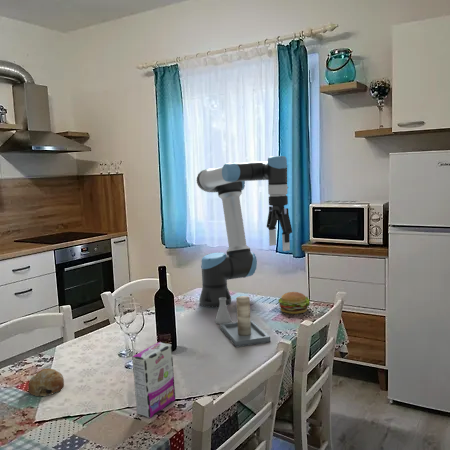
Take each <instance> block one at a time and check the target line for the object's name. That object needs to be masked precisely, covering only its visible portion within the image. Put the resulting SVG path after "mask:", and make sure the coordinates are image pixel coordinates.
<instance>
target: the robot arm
mask: <svg viewBox="0 0 450 450" xmlns="http://www.w3.org/2000/svg"><path fill="white" fill-rule="evenodd" d="M250 181H251V182H252V181H267V189H268V205H269V207H268V215H267V220H266V221H267V222H266V228H268V237H269V239H268V240H269V242H268V243H269V246H276V245H277V227H276V226H277V223H278V222H279V225H280V227H281V230H282V233H281V235H282V238H281V239H282V252H287V251H291V246H290V245H291V242H290V241H291V240H290V234H293V227H292V224H291V219H290V215H289V213H290V212H289V208H288V207H287V208H285V206H287V205H288V204H289V202H288V200H289V199H288V195H287V194H288V189H289V186H288V162H287V157H286V156H284V155H276V156H275V155H274V156H268V157H267V161H253V162H252V161H249V162H248V161H247V162H228V163H224V164H223V166H220V167H217V168H216V167H213V168H212V167H211V168H206V169H203V170H201V171H200V172H199V173H198V174H197V177H196V184H197V186H198V188H199V189H200V190H202V191H203V192H205V193H206V192H207V193H217V196H218V198H220V199H221V201H222V209H223V215H224V223H225V228H226V235H227V243H228V249H227V250H226V251H225V252H220V251H219V252H213V253H212V252H211V253H209V254H206V255H204V256H203V257H202V258H201V264H200V267H201V281H202V282H201V283H202V289H201V292H200V295H199V301H198V302H199V305H200V306H202V307H205V308H219V305H220V301H219V298H226V306H229V305H231V304H232V296H231V293H230V291H229V288H228V281H229V280H234V279H235V280H236V279H242V278H248V277H252V276H253V275H254V274H255V273H256V270H257V265H258V259H257V256H256V254H255V252H252V250H251V248H250V247H249V246H248V245H247V240H246V233H245V227H244V226H245V225H244V220H243V214H242V205H241V199H240V197H241V195H242V194H243V192H242V191H243V190H245V187H246V186H245V185H246V182H250Z"/></svg>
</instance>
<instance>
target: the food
mask: <svg viewBox="0 0 450 450" xmlns="http://www.w3.org/2000/svg"><path fill="white" fill-rule="evenodd" d="M277 301H278V305H279V307H280V311H281V312H282V313H284V314H289V315H298V314H304V313H305V312H307V311H308V307H309V306H310V298H309V297H308V296H306V295H305V294H303V293H301V292H298V291H289V292H285V293H284V294H282V295H281V297H280V298H278V300H277Z"/></svg>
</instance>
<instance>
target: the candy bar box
mask: <svg viewBox="0 0 450 450" xmlns="http://www.w3.org/2000/svg"><path fill="white" fill-rule="evenodd" d="M131 360H132V368H133V369H132V371H133V380H134V392H135V403H136V404H135V405H136V407H135V408H136V414H137V415H139V416H140V417H141V416H142V417H145V418H148V419H151V418H153V417H154V416H156V414H158V413H160V412H161V411H162V410H163V409H165V408H166V407H168V406H169V405H171V403H173V402H174V401H176V390H175V388H176V387H175V376H174V374H175V373H174V361H173V347H172V344H170V343H167V342H162V341H158V342H157V343H154V344H153V345H150V346H149V347H147V348H145V349H143V350H141V351H140V352H137V353H136V354H134V355H132V359H131Z"/></svg>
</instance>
